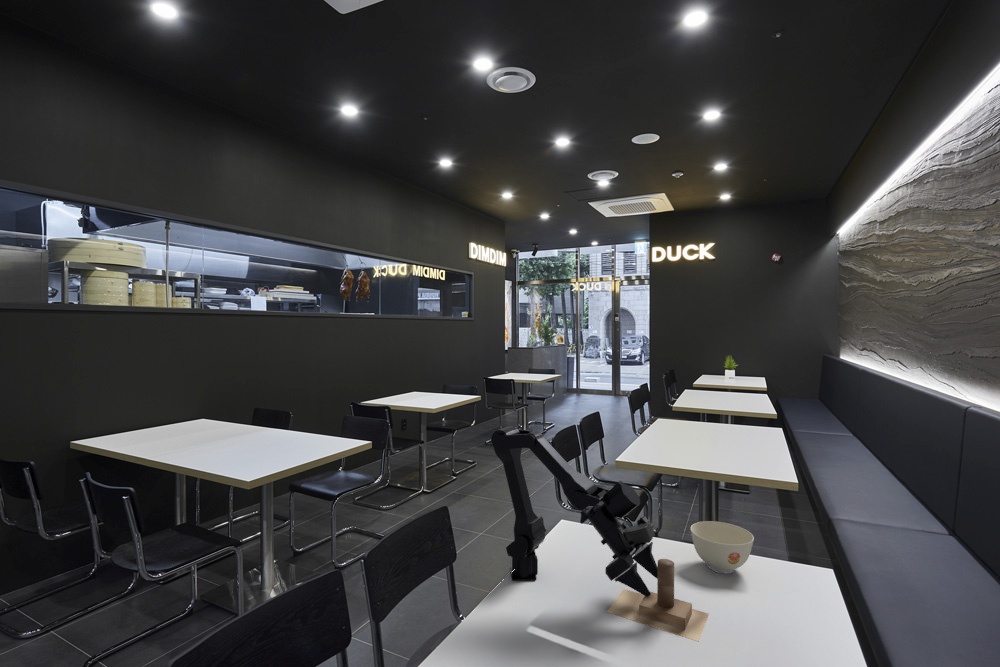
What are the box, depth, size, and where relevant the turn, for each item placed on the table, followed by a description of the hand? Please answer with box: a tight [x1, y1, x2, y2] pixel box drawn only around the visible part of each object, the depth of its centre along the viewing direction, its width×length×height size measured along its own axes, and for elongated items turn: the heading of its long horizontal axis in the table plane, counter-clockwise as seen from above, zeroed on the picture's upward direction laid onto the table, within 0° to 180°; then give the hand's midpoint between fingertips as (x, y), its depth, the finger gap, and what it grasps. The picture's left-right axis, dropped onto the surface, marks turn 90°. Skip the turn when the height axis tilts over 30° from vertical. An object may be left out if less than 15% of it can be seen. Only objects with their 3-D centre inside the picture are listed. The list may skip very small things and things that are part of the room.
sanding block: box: [639, 558, 693, 630], centre depth 113 cm, size 10×7×12 cm
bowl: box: [690, 520, 755, 575], centre depth 138 cm, size 16×16×10 cm
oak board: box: [606, 588, 710, 642], centre depth 114 cm, size 20×12×1 cm, turn 58°
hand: (654, 586), depth 115 cm, fingers open, 9 cm apart
